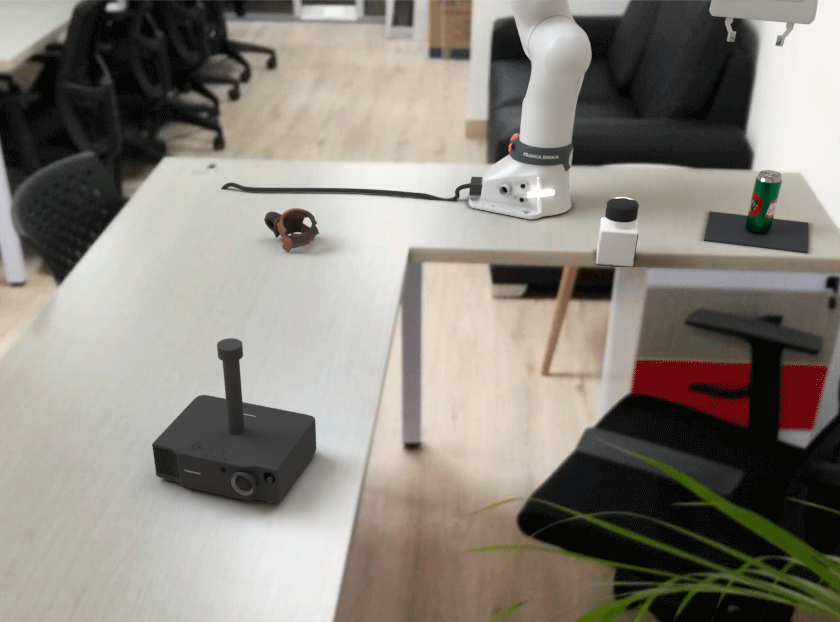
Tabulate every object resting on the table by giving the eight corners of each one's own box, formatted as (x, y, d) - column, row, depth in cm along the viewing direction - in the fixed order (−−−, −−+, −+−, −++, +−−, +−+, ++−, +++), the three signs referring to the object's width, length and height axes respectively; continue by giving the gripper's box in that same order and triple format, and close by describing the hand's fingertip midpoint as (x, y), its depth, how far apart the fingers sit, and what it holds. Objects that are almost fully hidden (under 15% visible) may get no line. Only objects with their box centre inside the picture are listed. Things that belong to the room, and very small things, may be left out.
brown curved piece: (324, 237, 225) (326, 212, 218) (306, 271, 221) (308, 247, 214) (271, 217, 226) (272, 191, 219) (253, 251, 222) (253, 226, 215)
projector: (149, 488, 152) (131, 363, 140) (202, 428, 165) (190, 309, 153) (273, 516, 147) (265, 389, 135) (318, 452, 159) (315, 330, 147)
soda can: (766, 237, 221) (780, 179, 214) (741, 232, 223) (754, 175, 216) (772, 228, 224) (786, 172, 217) (748, 224, 227) (760, 167, 220)
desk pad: (703, 240, 221) (704, 239, 221) (710, 212, 233) (710, 211, 233) (807, 253, 215) (807, 251, 215) (808, 223, 227) (808, 222, 227)
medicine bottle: (633, 267, 210) (642, 208, 203) (596, 264, 212) (604, 205, 204) (632, 253, 216) (641, 194, 209) (596, 250, 217) (604, 192, 210)
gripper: (715, -34, 210) (700, 41, 218) (826, -25, 205) (807, 51, 213) (717, -39, 215) (702, 35, 223) (826, -31, 210) (806, 45, 218)
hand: (754, 43), depth 218 cm, fingers open, 8 cm apart
